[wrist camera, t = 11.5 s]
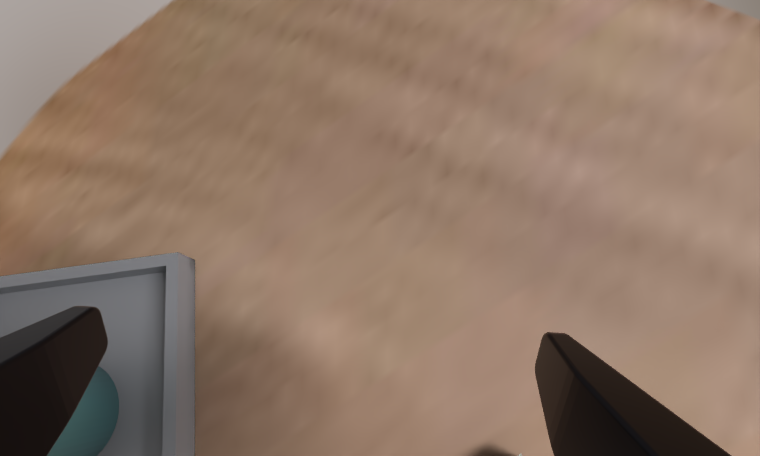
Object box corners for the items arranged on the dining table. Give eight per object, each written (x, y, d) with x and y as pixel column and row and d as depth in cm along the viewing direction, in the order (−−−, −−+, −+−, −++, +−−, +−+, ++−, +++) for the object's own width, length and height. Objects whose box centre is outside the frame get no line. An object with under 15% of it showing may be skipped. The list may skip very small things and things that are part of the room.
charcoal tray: (194, 562, 20) (173, 581, 18) (-61, 590, 21) (-104, 611, 19) (195, 260, 24) (178, 252, 22) (-18, 288, 25) (-51, 283, 23)
